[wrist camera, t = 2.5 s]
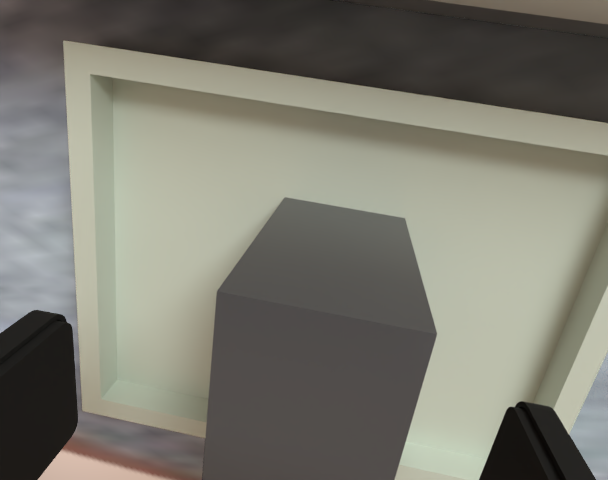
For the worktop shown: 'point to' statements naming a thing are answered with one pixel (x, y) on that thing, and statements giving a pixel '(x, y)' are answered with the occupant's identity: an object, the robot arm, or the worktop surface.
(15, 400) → the robot arm
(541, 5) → the power strip
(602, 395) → the worktop surface
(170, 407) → the tray
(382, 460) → the plug
